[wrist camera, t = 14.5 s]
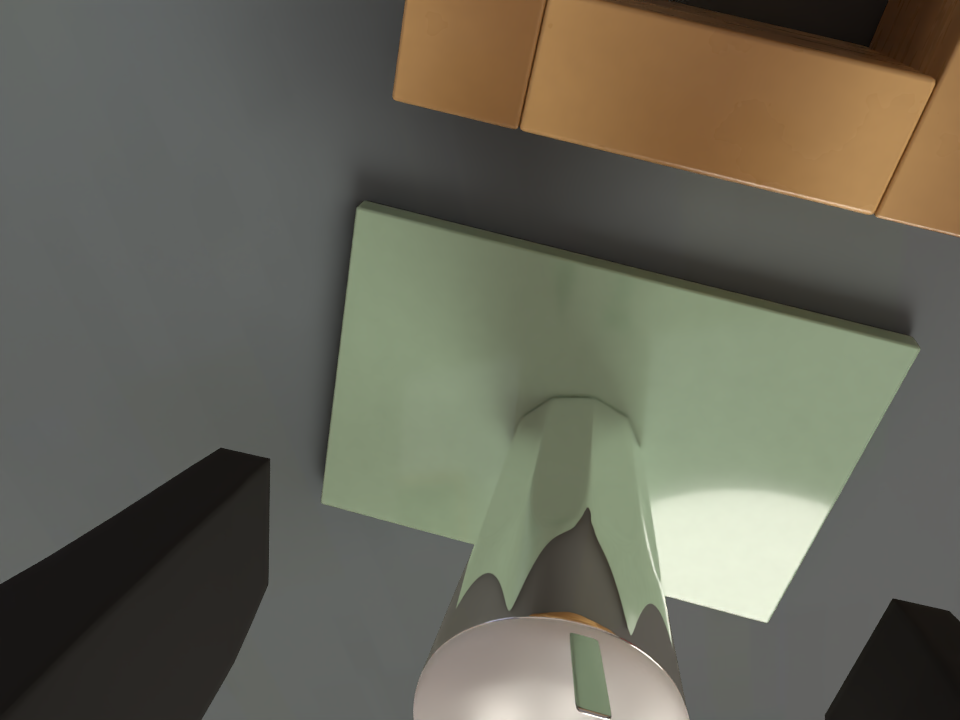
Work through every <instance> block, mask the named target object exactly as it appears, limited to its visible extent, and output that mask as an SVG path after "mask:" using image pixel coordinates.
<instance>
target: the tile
mask: <svg viewBox="0 0 960 720" xmlns="http://www.w3.org/2000/svg"><path fill="white" fill-rule="evenodd" d="M919 351H920V346H919V345H918V343H917V342H916V341H915V339H914V338H913V337H911V336H907V335H903V334H899V333H895V332H891V331H887V330H883V329H879V328H875V327H871V326H867V325H863V324H859V323H855V322H851V321H847V320H843V319H839V318H835V317H831V316H827V315H823V314H819V313H815V312H811V311H807V310H803V309H799V308H795V307H791V306H787V305H783V304H779V303H775V302H771V301H767V300H763V299H759V298H755V297H751V296H747V295H742V294H738V293H734V292H730V291H726V290H722V289H718V288H714V287H710V286H706V285H702V284H698V283H694V282H690V281H686V280H682V279H678V278H674V277H670V276H666V275H662V274H658V273H654V272H650V271H646V270H642V269H638V268H634V267H630V266H626V265H622V264H618V263H614V262H610V261H606V260H602V259H598V258H594V257H590V256H586V255H582V254H578V253H574V252H570V251H566V250H562V249H558V248H554V247H550V246H546V245H542V244H538V243H534V242H530V241H526V240H522V239H518V238H514V237H509V236H505V235H501V234H497V233H493V232H489V231H485V230H481V229H477V228H473V227H469V226H465V225H461V224H457V223H453V222H449V221H445V220H441V219H437V218H433V217H429V216H425V215H421V214H417V213H413V212H409V211H405V210H401V209H397V208H393V207H389V206H385V205H381V204H377V203H373V202H369V201H363V202H362V203H361V204H360V205H359V206H358V207H357V208H356V213H355V222H354V230H353V238H352V247H351V255H350V263H349V272H348V280H347V288H346V296H345V305H344V313H343V321H342V330H341V338H340V346H339V355H338V363H337V371H336V380H335V388H334V396H333V404H332V413H331V421H330V429H329V438H328V446H327V454H326V463H325V471H324V479H323V487H322V496H321V503H322V504H325V505H329V506H333V507H336V508H340V509H344V510H348V511H351V512H355V513H359V514H362V515H366V516H370V517H374V518H377V519H381V520H385V521H388V522H392V523H396V524H400V525H403V526H407V527H411V528H414V529H418V530H422V531H426V532H429V533H433V534H437V535H440V536H444V537H448V538H452V539H455V540H459V541H463V542H466V543H470V544H474V545H475V543H476V540H477V538H478V535H479V532H480V530H481V527H482V524H483V521H484V519H485V516H486V513H487V510H488V508H489V505H490V502H491V499H492V497H493V494H494V491H495V488H496V485H497V483H498V480H499V477H500V474H501V471H502V469H503V466H504V463H505V460H506V457H507V455H508V452H509V449H510V446H511V443H512V441H513V438H514V435H515V432H516V429H517V427H518V424H519V421H520V419H521V418H522V417H524V416H525V415H527V414H528V413H530V412H531V411H533V410H534V409H536V408H537V407H539V406H540V405H542V404H543V403H545V402H546V401H548V400H549V399H551V398H553V397H594V398H596V399H597V400H599V401H600V402H602V403H604V404H605V405H607V406H609V407H610V408H612V409H614V410H616V411H617V412H619V413H621V414H622V415H624V416H626V417H627V418H628V419H629V421H630V424H631V426H632V429H633V431H634V434H635V436H636V439H637V441H638V443H639V446H640V448H641V451H642V455H643V460H644V467H645V473H646V479H647V486H648V492H649V499H650V505H651V512H652V518H653V525H654V531H655V537H656V544H657V550H658V557H659V564H660V570H661V577H662V583H663V589H664V595H665V596H667V597H671V598H675V599H678V600H682V601H686V602H689V603H693V604H697V605H701V606H704V607H708V608H712V609H715V610H719V611H723V612H727V613H730V614H734V615H738V616H741V617H745V618H749V619H753V620H756V621H760V622H764V623H768V622H769V620H770V618H771V616H772V615H773V613H774V611H775V609H776V607H777V606H778V604H779V602H780V600H781V598H782V597H783V595H784V593H785V591H786V590H787V588H788V586H789V584H790V582H791V581H792V579H793V577H794V575H795V573H796V572H797V570H798V568H799V566H800V564H801V563H802V561H803V559H804V557H805V555H806V554H807V552H808V550H809V548H810V546H811V545H812V543H813V541H814V539H815V538H816V536H817V534H818V532H819V530H820V529H821V527H822V525H823V523H824V521H825V520H826V518H827V516H828V514H829V512H830V511H831V509H832V507H833V505H834V503H835V502H836V500H837V498H838V496H839V494H840V493H841V491H842V489H843V487H844V486H845V484H846V482H847V480H848V478H849V477H850V475H851V473H852V471H853V469H854V468H855V466H856V464H857V462H858V460H859V459H860V457H861V455H862V453H863V451H864V450H865V448H866V446H867V444H868V443H869V441H870V439H871V437H872V435H873V434H874V432H875V430H876V428H877V426H878V425H879V423H880V421H881V419H882V417H883V416H884V414H885V412H886V410H887V408H888V407H889V405H890V403H891V401H892V399H893V398H894V396H895V394H896V392H897V391H898V389H899V387H900V385H901V383H902V382H903V380H904V378H905V376H906V374H907V373H908V371H909V369H910V367H911V365H912V364H913V362H914V360H915V358H916V356H917V355H918V353H919Z"/></svg>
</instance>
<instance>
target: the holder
mask: <svg viewBox="0 0 960 720" xmlns="http://www.w3.org/2000/svg"><path fill="white" fill-rule="evenodd" d="M392 96H393V99H394V100H396V101H399V102H403V103H407V104H411V105H415V106H420V107H424V108H428V109H432V110H436V111H440V112H444V113H449V114H453V115H457V116H461V117H465V118H469V119H473V120H477V121H482V122H486V123H490V124H494V125H498V126H502V127H506V128H511V129H517V128H518V127H519V125H520V129H521V130H523V131H524V132H528V133H532V134H537V135H541V136H545V137H549V138H553V139H557V140H561V141H565V142H570V143H574V144H578V145H582V146H586V147H590V148H594V149H598V150H603V151H607V152H611V153H615V154H619V155H623V156H627V157H632V158H636V159H640V160H644V161H648V162H652V163H656V164H660V165H665V166H669V167H673V168H677V169H681V170H685V171H689V172H694V173H698V174H702V175H706V176H710V177H714V178H718V179H722V180H727V181H731V182H735V183H739V184H743V185H747V186H751V187H755V188H760V189H764V190H768V191H772V192H776V193H780V194H784V195H789V196H793V197H797V198H801V199H805V200H809V201H813V202H817V203H822V204H826V205H830V206H834V207H838V208H842V209H846V210H851V211H855V212H859V213H863V214H867V215H868V214H874V215H875V216H876V217H877V218H881V219H886V220H890V221H894V222H898V223H902V224H906V225H910V226H915V227H919V228H923V229H927V230H931V231H935V232H939V233H943V234H948V235H952V236H956V237H960V0H889V1H888V3H887V6H886V8H885V10H884V13H883V15H882V17H881V20H880V22H879V25H878V27H877V29H876V32H875V34H874V36H873V39H872V41H871V43H870V46H869V48H868V47H866V46H862V45H858V44H854V43H849V42H845V41H841V40H836V39H832V38H828V37H823V36H819V35H815V34H810V33H806V32H802V31H798V30H793V29H789V28H785V27H780V26H776V25H772V24H767V23H763V22H759V21H754V20H750V19H746V18H741V17H737V16H733V15H728V14H724V13H720V12H715V11H711V10H707V9H703V8H698V7H694V6H690V5H685V4H681V3H677V2H672V1H668V0H405V5H404V13H403V20H402V28H401V35H400V42H399V50H398V57H397V65H396V72H395V80H394V87H393V94H392Z"/></svg>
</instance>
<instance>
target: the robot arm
mask: <svg viewBox="0 0 960 720" xmlns="http://www.w3.org/2000/svg"><path fill="white" fill-rule="evenodd" d="M269 501H270V459H268V458H264V457H260V456H255V455H251V454H246V453H242V452H237V451H233V450H228V449H224V448H220V449H218V450H217V451H215V452H213V453H212V454H210V455H209V456H207V457H205V458H204V459H202V460H200V461H199V462H197V463H196V464H194V465H192V466H191V467H189V468H188V469H186V470H185V471H183V472H182V473H180V474H178V475H177V476H175V477H174V478H172V479H171V480H169V481H168V482H166V483H164V484H163V485H161V486H160V487H158V488H157V489H155V490H154V491H152V492H151V493H149V494H148V495H146V496H144V497H143V498H141V499H140V500H138V501H137V502H135V503H134V504H132V505H130V506H129V507H127V508H126V509H124V510H123V511H121V512H120V513H118V514H116V515H115V516H113V517H112V518H110V519H108V520H107V521H105V522H104V523H102V524H100V525H99V526H97V527H96V528H94V529H92V530H91V531H89V532H87V533H86V534H84V535H83V536H81V537H79V538H78V539H76V540H75V541H73V542H71V543H70V544H68V545H66V546H65V547H63V548H62V549H60V550H58V551H57V552H55V553H54V554H52V555H50V556H49V557H47V558H45V559H44V560H42V561H40V562H38V563H37V564H35V565H33V566H31V567H30V568H28V569H26V570H24V571H23V572H21V573H19V574H17V575H16V576H14V577H12V578H10V579H9V580H7V581H5V582H3V583H2V584H0V720H201V719H202V718H203V716H204V714H205V713H206V711H207V709H208V707H209V706H210V704H211V702H212V700H213V699H214V697H215V695H216V693H217V692H218V690H219V688H220V687H221V685H222V683H223V681H224V680H225V678H226V676H227V674H228V672H229V671H230V669H231V667H232V665H233V664H234V662H235V659H236V657H237V655H238V653H239V651H240V648H241V646H242V644H243V642H244V639H245V637H246V635H247V633H248V631H249V628H250V626H251V624H252V621H253V619H254V617H255V614H256V612H257V610H258V607H259V605H260V602H261V600H262V598H263V595H264V593H265V591H266V588H267V586H268V573H269ZM825 720H960V621H959V620H958V619H957V618H956V617H955V616H954V615H953V614H952V613H951V612H950V611H947V610H942V609H938V608H933V607H929V606H924V605H920V604H916V603H911V602H907V601H902V600H898V599H892V601H891V602H890V604H889V606H888V608H887V609H886V611H885V613H884V614H883V616H882V618H881V620H880V621H879V623H878V625H877V626H876V628H875V630H874V632H873V633H872V635H871V637H870V639H869V640H868V642H867V644H866V645H865V647H864V649H863V651H862V652H861V654H860V656H859V657H858V659H857V661H856V663H855V664H854V666H853V668H852V669H851V671H850V673H849V675H848V676H847V678H846V680H845V681H844V683H843V685H842V687H841V688H840V690H839V692H838V693H837V695H836V697H835V699H834V700H833V702H832V704H831V705H830V707H829V709H828V711H827V712H826V714H825Z"/></svg>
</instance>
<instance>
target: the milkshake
mask: <svg viewBox="0 0 960 720" xmlns="http://www.w3.org/2000/svg"><path fill="white" fill-rule="evenodd" d="M413 716H414V720H689V716H688V712H687V708H686V702H685V697H684V692H683V687H682V682H681V676H680V671H679V666H678V661H677V656H676V651H675V646H674V641H673V636H672V631H671V625H670V620H669V615H668V610H667V605H666V600H665V595H664V589H663V583H662V577H661V570H660V564H659V557H658V550H657V544H656V537H655V531H654V525H653V518H652V512H651V505H650V499H649V492H648V486H647V479H646V473H645V467H644V460H643V455H642V451H641V448H640V446H639V443H638V441H637V439H636V436H635V434H634V431H633V429H632V426H631V424H630V421H629V419H628V418H627V417H626V416H624V415H622V414H621V413H619V412H617V411H616V410H614V409H612V408H610V407H609V406H607V405H605V404H604V403H602V402H600V401H599V400H597V399H596V398H594V397H553V398H551V399H549V400H548V401H546V402H545V403H543V404H542V405H540V406H539V407H537V408H536V409H534V410H533V411H531V412H530V413H528V414H527V415H525V416H524V417H522V418H521V419H520V421H519V424H518V427H517V429H516V432H515V435H514V438H513V441H512V443H511V446H510V449H509V452H508V455H507V457H506V460H505V463H504V466H503V469H502V471H501V474H500V477H499V480H498V483H497V485H496V488H495V491H494V494H493V497H492V499H491V502H490V505H489V508H488V510H487V513H486V516H485V519H484V521H483V524H482V527H481V530H480V532H479V535H478V538H477V540H476V543H475V545H474V548H473V550H472V552H471V555H470V557H469V559H468V562H467V564H466V566H465V568H464V571H463V573H462V575H461V578H460V580H459V582H458V585H457V587H456V590H455V592H454V594H453V597H452V599H451V602H450V604H449V607H448V609H447V611H446V614H445V616H444V619H443V621H442V624H441V626H440V629H439V631H438V633H437V636H436V638H435V641H434V643H433V646H432V648H431V651H430V653H429V655H428V658H427V660H426V663H425V665H424V668H423V671H422V673H421V676H420V678H419V681H418V684H417V688H416V692H415V697H414V706H413Z"/></svg>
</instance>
